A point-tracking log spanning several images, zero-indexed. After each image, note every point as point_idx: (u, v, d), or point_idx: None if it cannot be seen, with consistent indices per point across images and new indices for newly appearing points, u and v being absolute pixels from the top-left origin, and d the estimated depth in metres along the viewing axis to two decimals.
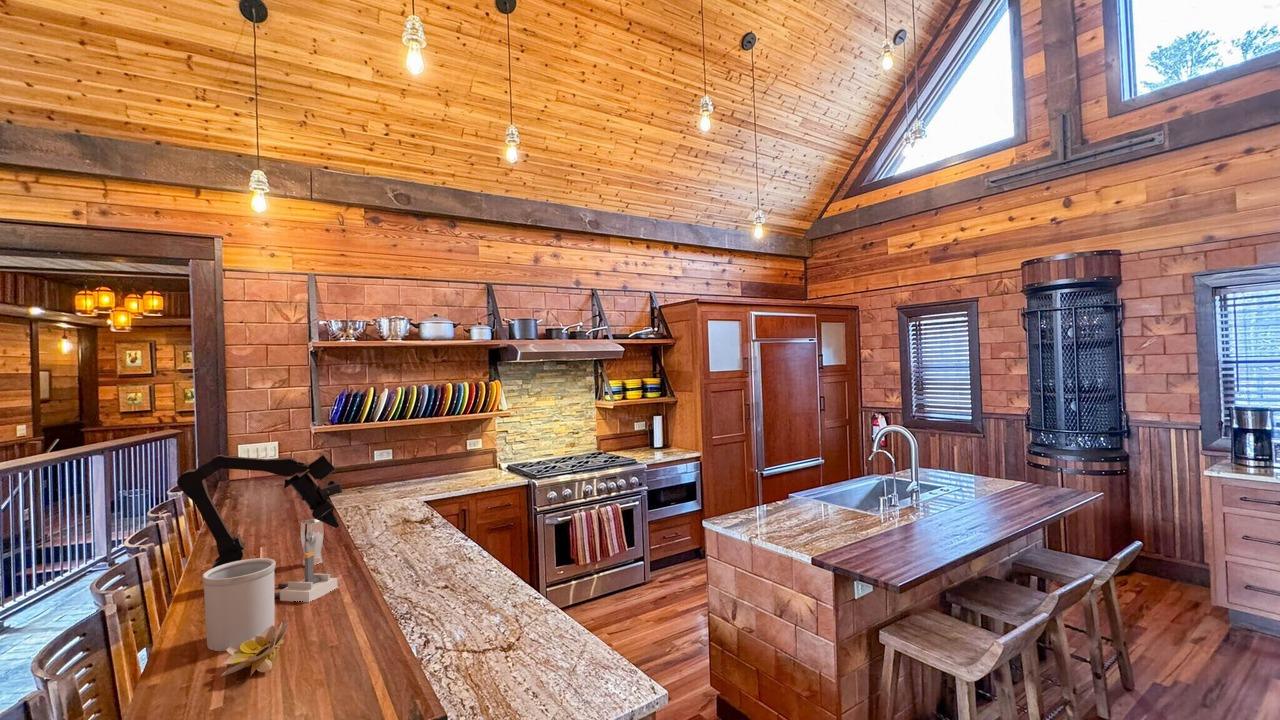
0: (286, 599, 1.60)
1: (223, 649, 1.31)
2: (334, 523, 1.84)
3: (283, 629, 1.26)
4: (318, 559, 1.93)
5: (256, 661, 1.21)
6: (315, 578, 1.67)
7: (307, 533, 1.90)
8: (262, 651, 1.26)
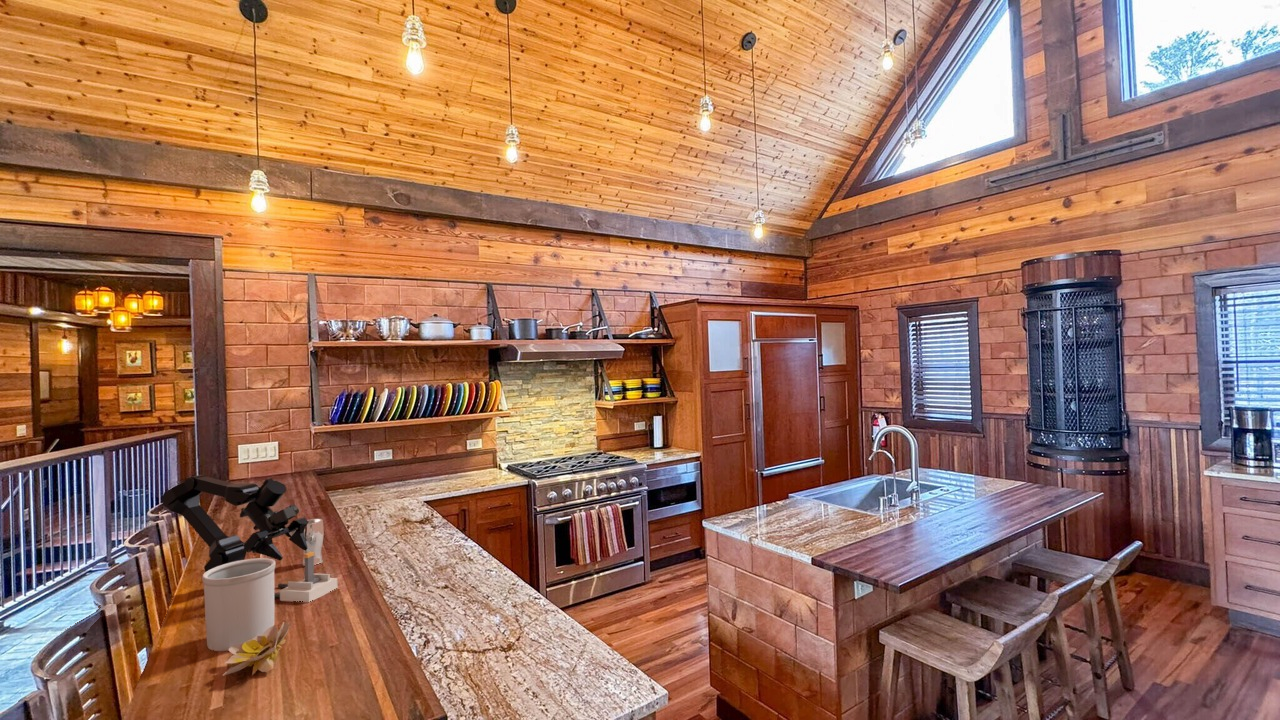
0: (286, 599, 1.60)
1: (223, 649, 1.31)
2: (275, 555, 1.62)
3: (285, 629, 1.26)
4: (318, 559, 1.93)
5: (258, 661, 1.21)
6: (315, 578, 1.67)
7: (307, 533, 1.90)
8: (264, 651, 1.26)
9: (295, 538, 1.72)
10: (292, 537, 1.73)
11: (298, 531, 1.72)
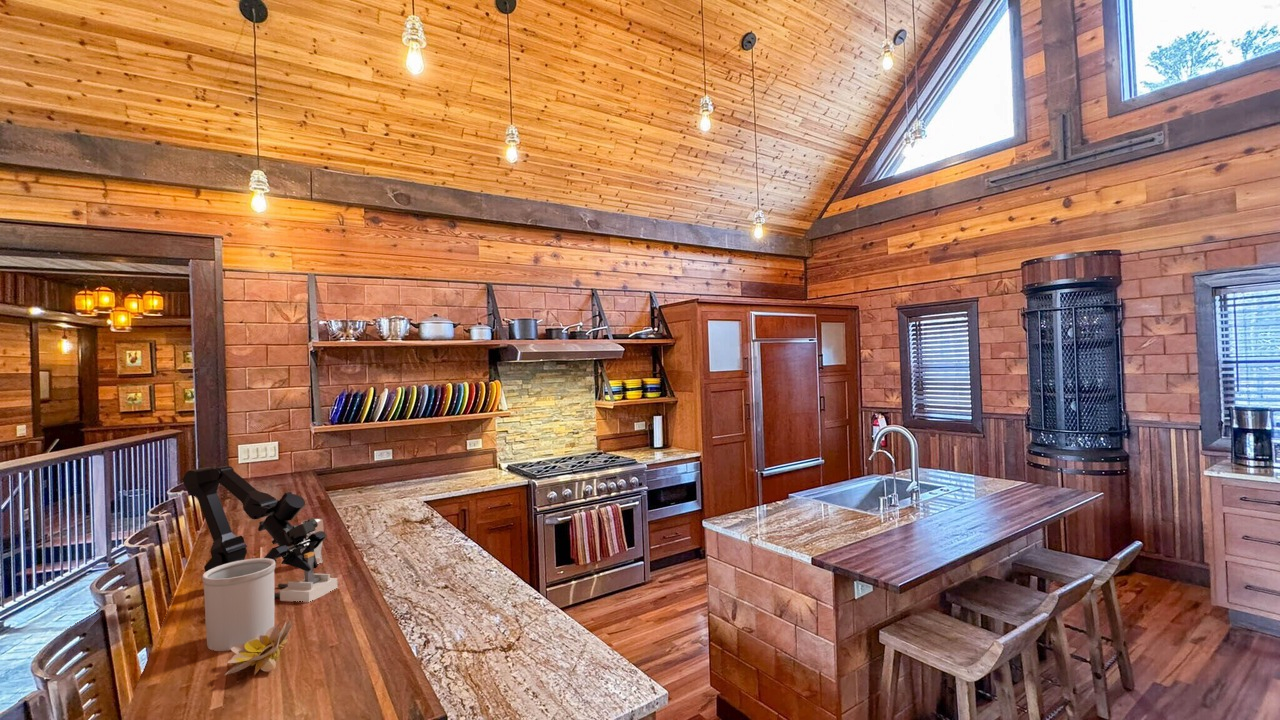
0: (286, 599, 1.60)
1: (223, 649, 1.31)
2: (304, 566, 1.64)
3: (287, 628, 1.26)
4: (318, 559, 1.93)
5: (260, 660, 1.21)
6: (315, 578, 1.67)
7: None
8: (266, 650, 1.26)
9: None
10: (302, 554, 1.68)
11: (308, 548, 1.68)
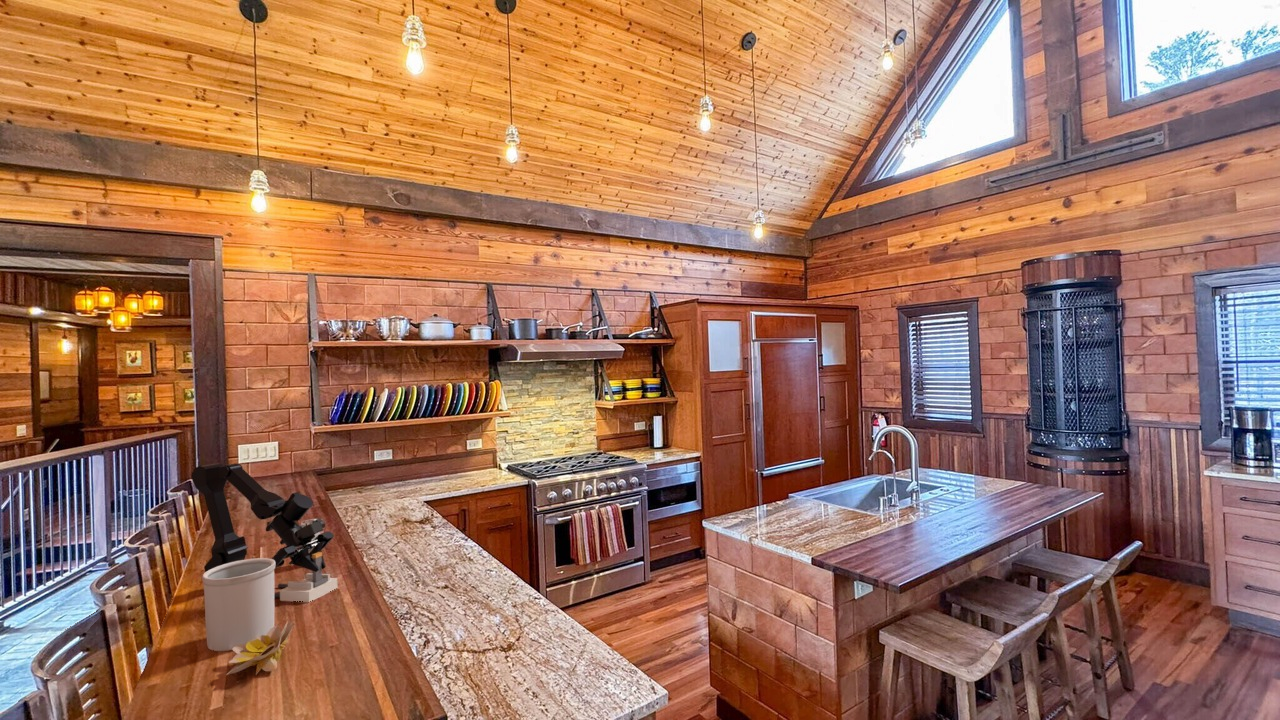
0: (286, 599, 1.60)
1: (223, 649, 1.31)
2: (312, 567, 1.63)
3: (288, 628, 1.26)
4: None
5: (261, 660, 1.21)
6: (323, 578, 1.66)
7: None
8: (268, 650, 1.27)
9: None
10: (309, 554, 1.68)
11: (316, 549, 1.67)
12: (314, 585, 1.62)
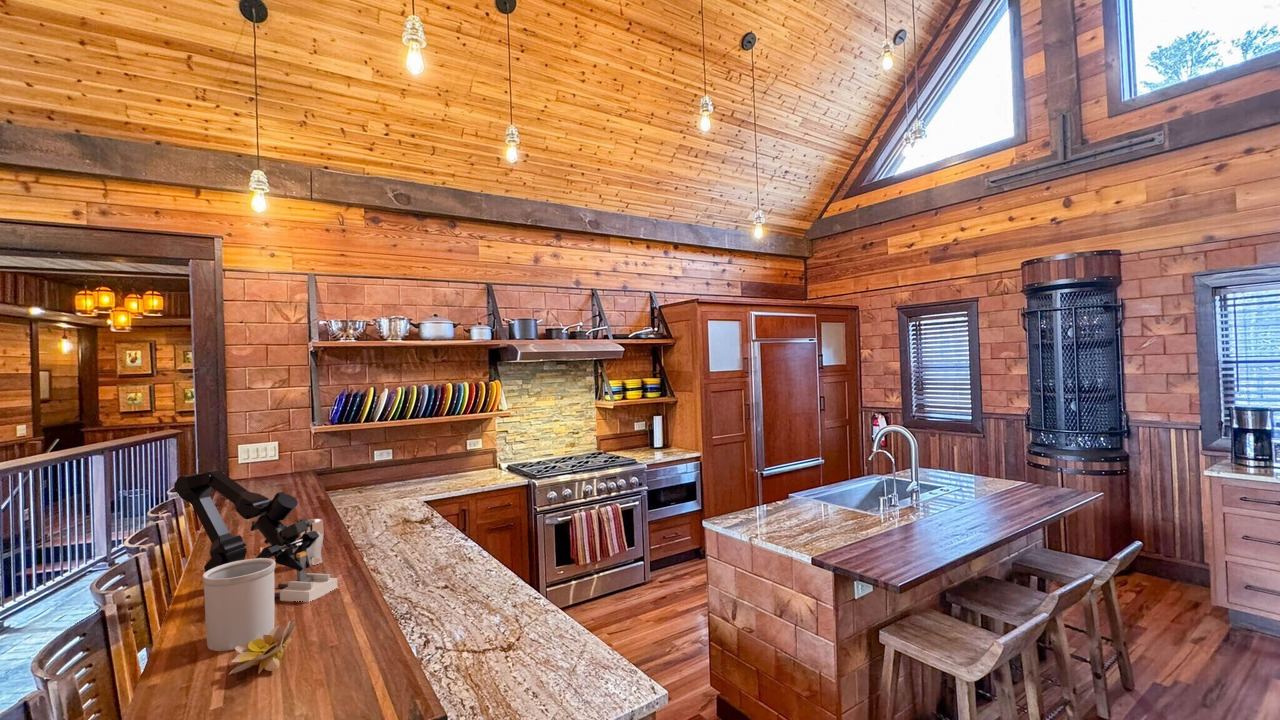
0: (286, 599, 1.60)
1: (223, 649, 1.31)
2: (296, 566, 1.64)
3: (290, 628, 1.26)
4: (318, 559, 1.93)
5: (264, 660, 1.21)
6: (307, 578, 1.67)
7: None
8: (270, 650, 1.27)
9: None
10: (294, 554, 1.69)
11: (300, 548, 1.68)
12: None
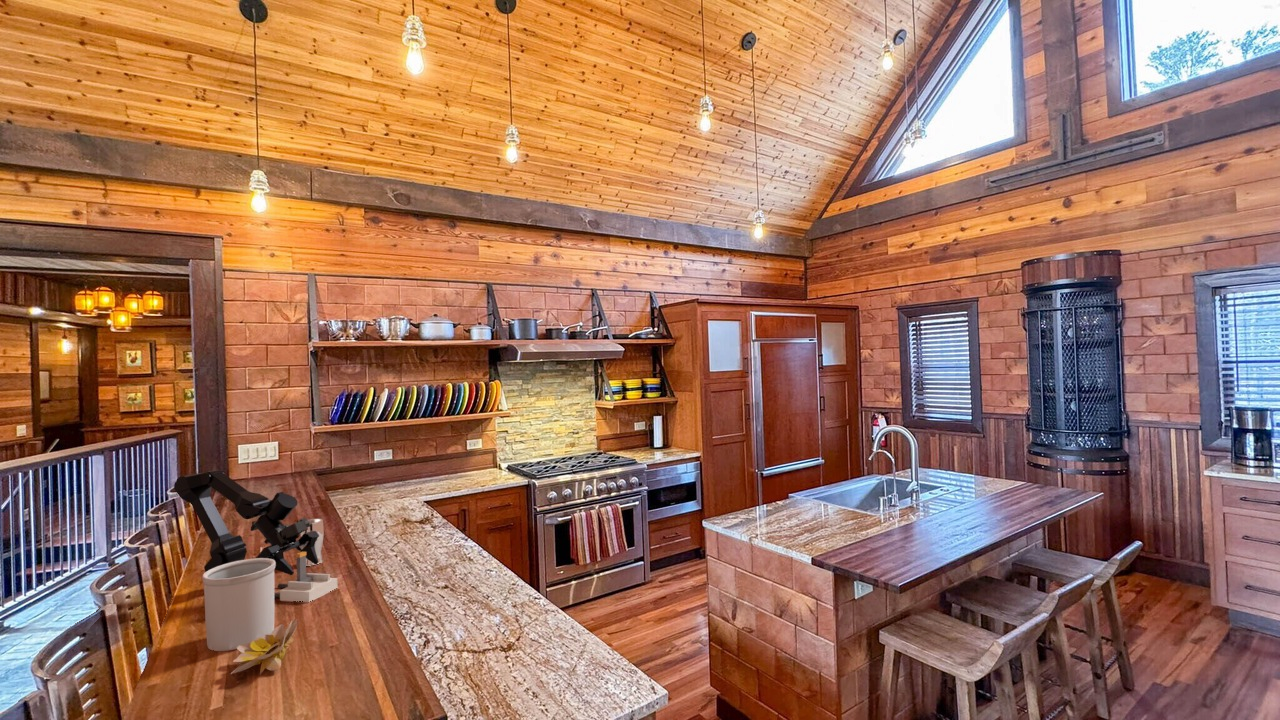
0: (286, 599, 1.60)
1: (223, 649, 1.31)
2: (287, 570, 1.61)
3: (292, 628, 1.26)
4: (318, 559, 1.93)
5: (266, 659, 1.21)
6: (307, 578, 1.67)
7: None
8: (272, 649, 1.27)
9: (306, 552, 1.72)
10: (303, 550, 1.72)
11: (309, 545, 1.72)
12: None
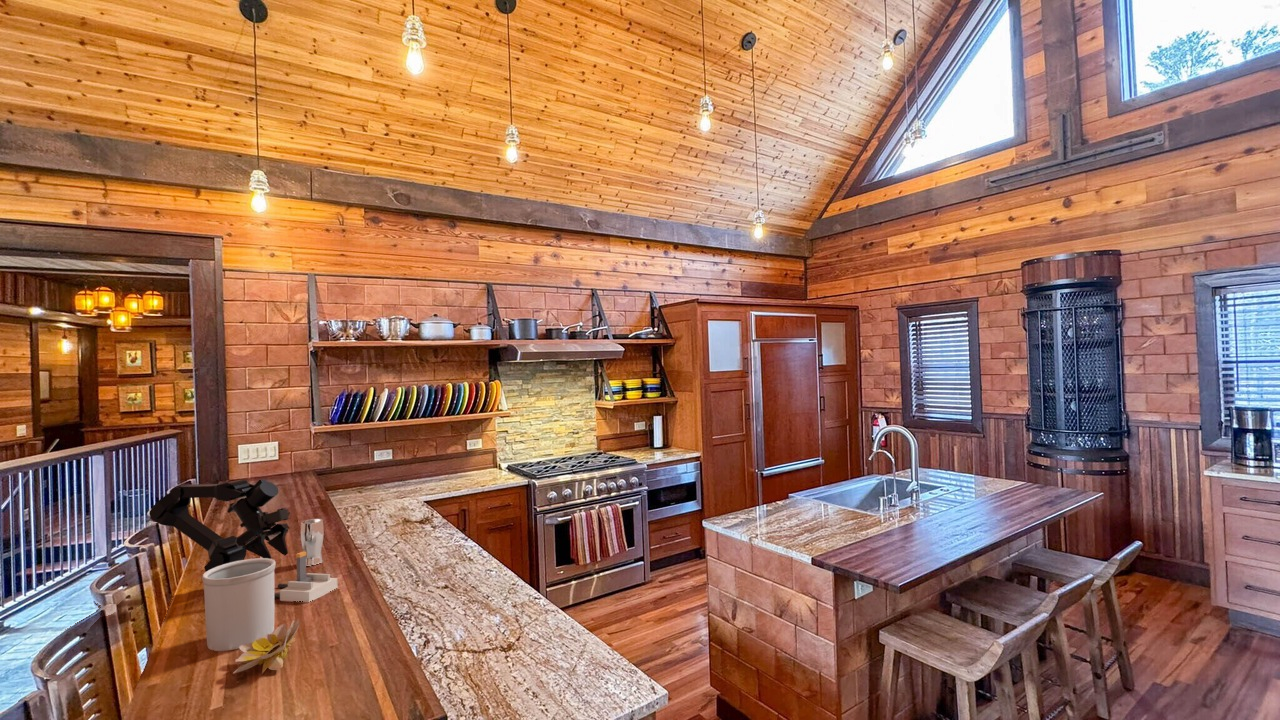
0: (286, 599, 1.60)
1: (223, 649, 1.31)
2: (264, 554, 1.64)
3: (294, 627, 1.27)
4: (318, 559, 1.93)
5: (268, 659, 1.22)
6: (307, 578, 1.67)
7: (307, 533, 1.90)
8: (274, 649, 1.27)
9: (275, 542, 1.74)
10: (272, 540, 1.75)
11: (281, 535, 1.75)
12: None
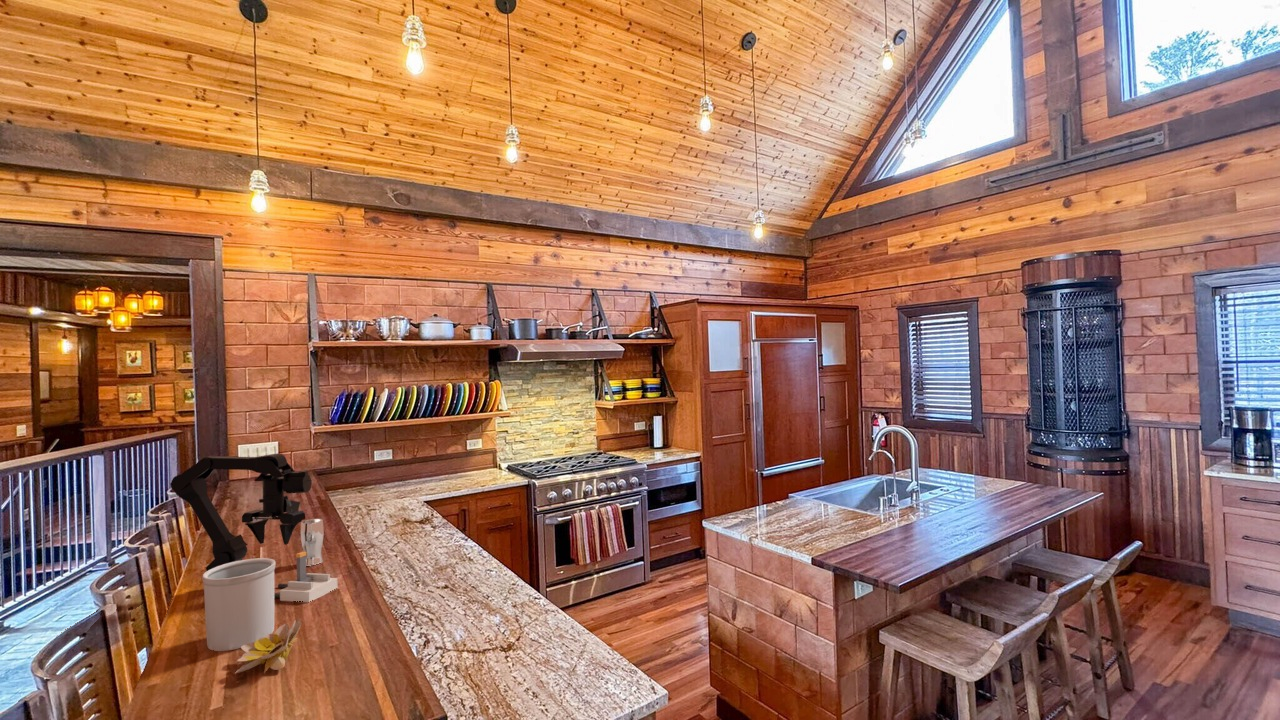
0: (286, 599, 1.60)
1: (223, 649, 1.31)
2: (287, 538, 1.73)
3: (296, 627, 1.27)
4: (318, 559, 1.93)
5: (270, 659, 1.22)
6: (307, 578, 1.67)
7: (307, 533, 1.90)
8: (276, 649, 1.27)
9: (258, 527, 1.74)
10: (256, 524, 1.74)
11: (264, 522, 1.76)
12: None
